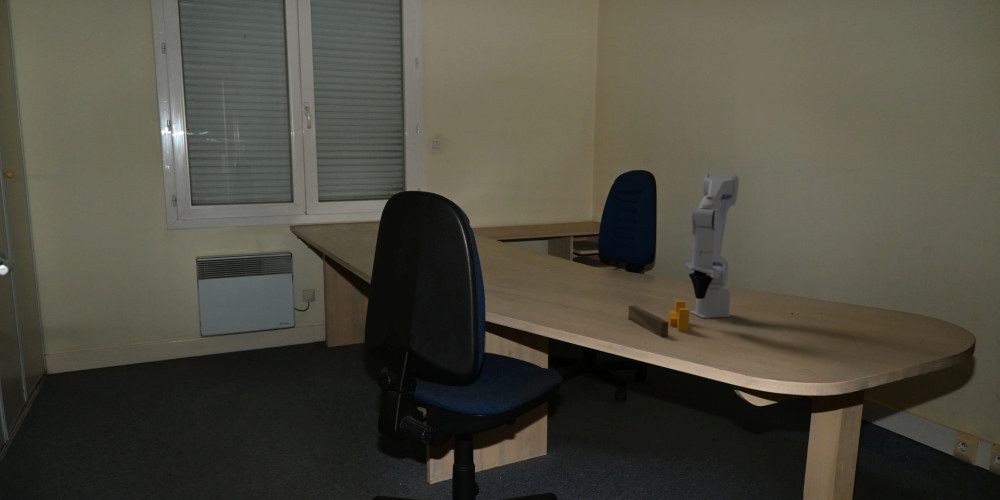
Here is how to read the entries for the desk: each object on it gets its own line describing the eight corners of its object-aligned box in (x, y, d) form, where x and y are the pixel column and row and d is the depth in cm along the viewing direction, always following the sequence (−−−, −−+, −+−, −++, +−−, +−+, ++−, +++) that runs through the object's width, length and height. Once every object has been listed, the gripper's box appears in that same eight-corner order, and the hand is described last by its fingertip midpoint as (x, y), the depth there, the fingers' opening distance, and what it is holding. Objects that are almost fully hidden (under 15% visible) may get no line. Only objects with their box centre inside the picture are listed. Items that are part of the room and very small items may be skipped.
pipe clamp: (668, 321, 197) (669, 299, 196) (683, 322, 196) (684, 300, 195) (671, 331, 185) (673, 309, 184) (688, 332, 184) (689, 310, 183)
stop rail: (634, 318, 198) (635, 305, 198) (667, 336, 179) (668, 322, 178) (628, 319, 198) (628, 305, 197) (661, 337, 179) (661, 322, 178)
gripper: (677, 248, 195) (674, 293, 197) (704, 255, 181) (701, 304, 183) (698, 247, 197) (695, 292, 199) (727, 254, 183) (724, 303, 185)
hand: (700, 298), depth 191 cm, fingers closed
